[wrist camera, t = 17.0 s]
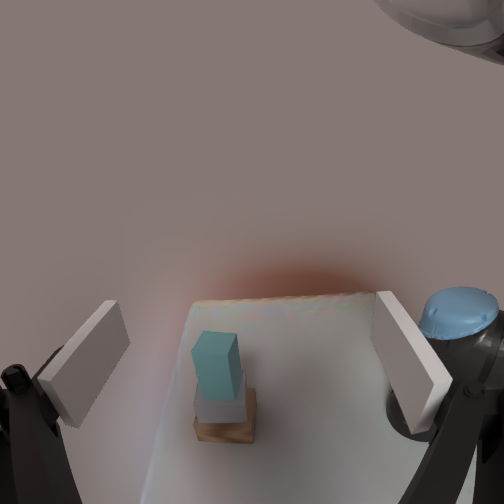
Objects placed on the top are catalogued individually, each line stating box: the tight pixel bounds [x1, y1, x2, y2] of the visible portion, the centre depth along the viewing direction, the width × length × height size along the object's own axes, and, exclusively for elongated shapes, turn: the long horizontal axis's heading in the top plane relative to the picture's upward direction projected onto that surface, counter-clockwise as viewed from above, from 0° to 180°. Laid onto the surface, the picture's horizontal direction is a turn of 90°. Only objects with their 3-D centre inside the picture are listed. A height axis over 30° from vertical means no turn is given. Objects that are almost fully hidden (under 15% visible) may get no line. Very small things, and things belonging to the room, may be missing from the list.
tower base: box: [193, 389, 257, 444], centre depth 45 cm, size 9×9×4 cm
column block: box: [191, 331, 242, 401], centre depth 41 cm, size 5×5×9 cm
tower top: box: [194, 371, 247, 423], centre depth 44 cm, size 8×8×4 cm
